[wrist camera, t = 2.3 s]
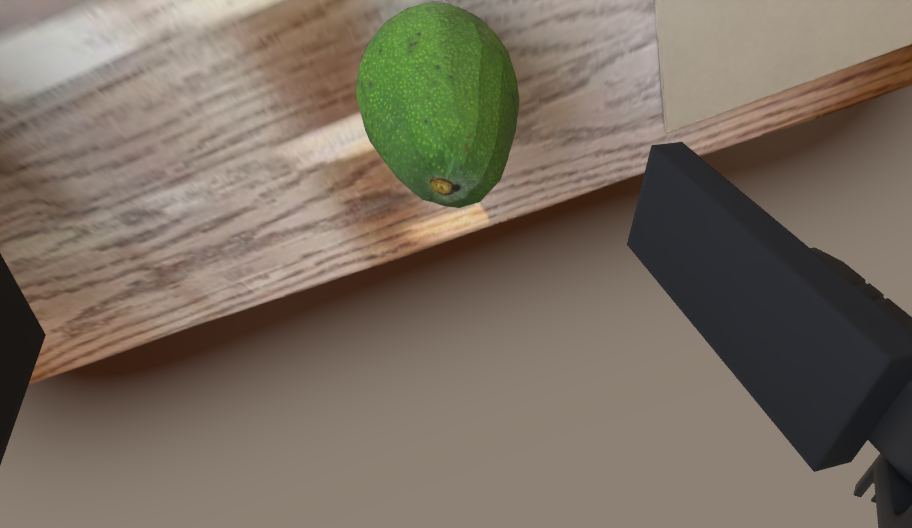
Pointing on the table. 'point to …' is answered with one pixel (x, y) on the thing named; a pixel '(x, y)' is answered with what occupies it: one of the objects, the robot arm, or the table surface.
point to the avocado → (440, 102)
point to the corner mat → (764, 48)
